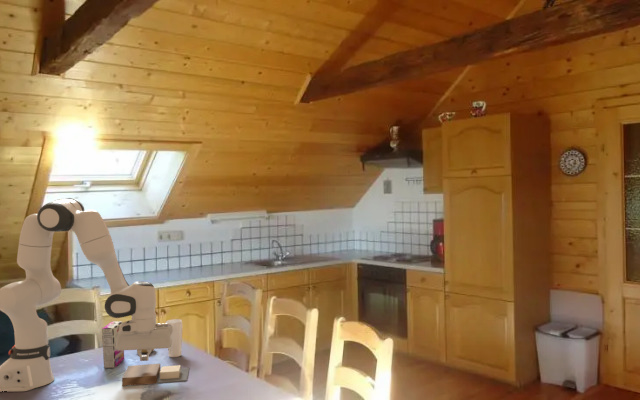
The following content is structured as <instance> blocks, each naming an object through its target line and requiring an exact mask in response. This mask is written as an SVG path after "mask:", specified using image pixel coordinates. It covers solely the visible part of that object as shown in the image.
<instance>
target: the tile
mask: <svg viewBox="0 0 640 400" xmlns="http://www.w3.org/2000/svg"><path fill="white" fill-rule="evenodd" d="M181 368H182V367H181V364H179V365H167V366H166V365H165V366H161V367H160V379H168V378H179V376H180V373H181Z"/></svg>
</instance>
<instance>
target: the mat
mask: <svg viewBox="0 0 640 400" xmlns="http://www.w3.org/2000/svg"><path fill="white" fill-rule="evenodd" d="M189 373H190V368H189V367H185V368H183V367H181V373H180V376H179V378H168V379H160V373H159V376H158V379H157V382H156V384H167V383H177V382H187V381H188V378H189V377H188V376H189Z"/></svg>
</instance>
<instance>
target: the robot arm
mask: <svg viewBox="0 0 640 400" xmlns="http://www.w3.org/2000/svg"><path fill="white" fill-rule="evenodd" d="M20 229H21V230H20V233H19V234H20V235H19V240H18V247H17V248H18V249H17V256H16V264H17V265H18V266H19V267H20V268H21V269H23V270H24V271H25V279H23V280H20V281H14V282H11V283H9V284H6V285H3V286H2V287H0V312H2V313H4V314H5V315H6V316H8V318H9V319H10V322H11V323H12V326H13V331H14V332H13V334H14V335H13V336H14V345H13V346H12V347H11V348H10V349H9V351H8V356H9V358H7V360H5V361H3V363H2V364H0V392H2V391H3V392H2V393H4V391H7V392H27V391H28V392H29V391H31V390H33V389H36V388H39V387H43V386H46V385H48V384H51V383H52V382H53V381H55V377H54V374H53V370H52V365H51V360H50V357H51V345H50V342H49V332H48V331H49V329H48V327H49V326H48V322H47V321H46V320H44V319H43V318H40V317H39V315H38V312H37V308H39V307H42V306H45V305H48V304H51V303H53V302H54V301H55V300H57V299H59V297H60V296H61V293H62V285H61V283H60V281H59V280H58V279H57V278H56V277H55V276H54V275H53V274H54V273H53V271H52V267H51V260H52V258H51V257H52V249H53V248H52V247H53V240H54V238H53V237H54V234H55V232H56V233H57V232H69V231H71V232H73V234H75V236H76V238H77V241H78V243H79V246H80V249H81V251H82V253H83V255H84V256H85V258H86V259H87V261H88V262H90V263H92V264H94V265H96V266H98V267H99V268H100V269H101V271H102V272H103V274H104V277H105V279H106V282H107V284H108V286H109V289H110V294H109V296H108V297H107V298H106V300H105V302H104V309H105V312H106V314H107V315H108V316H110V317H111V318H115V319H120V318H126V317H129V316H131V319H129V320H126V321H122V324H121V325H120V327H119V331H120V332H119V333H118V335H117V339H116V349H117V350H118V351H122V350H124V351H135V350H136V353H137V355H138V356H139V362H146V361H149V357H150V356H149V355H150V354H151V353H152V352H151V350H152V349H154V350H157V349H161V350H163V349H168V348H170V347H171V345H172V338H171V334H172V326H171V325H169V324H168V323H166V322H165V323H157V314H156V307H157V298H156V297H157V294H156V289H155V286H154V285H153V283H151V282H148V281H143V280H139V281H137V280H136V281H135V282H133V283H132V284H129V283H128V281H127V280H126V277H125V275H124V273H123V271H122V268H121V266H120V263H119V261H118V258H117V255H116V250H115V246H114V242H113V239H112V236H111V233H110V231H109V228H108V226H107V224H106V223H105V220H104V218H103V217H102V216H101V213H99V212H98V211H97V210H95V209H86V210H85V207H84V205H83V204H82V202H80V201H79V200H78V199H76V198H73V197H72V198H71V197H66V198H61V199H56V200H54V201H51V202H47V203H45V204H43V206H42V207H40V208H39V210H38V211H37V213H31V214H30V215H28V216H26V217H25V218H24V220H23V223H22V227H21V228H20ZM168 325H169V326H168ZM142 349H147V352H148V353H146V354H143V353H141V350H142Z"/></svg>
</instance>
